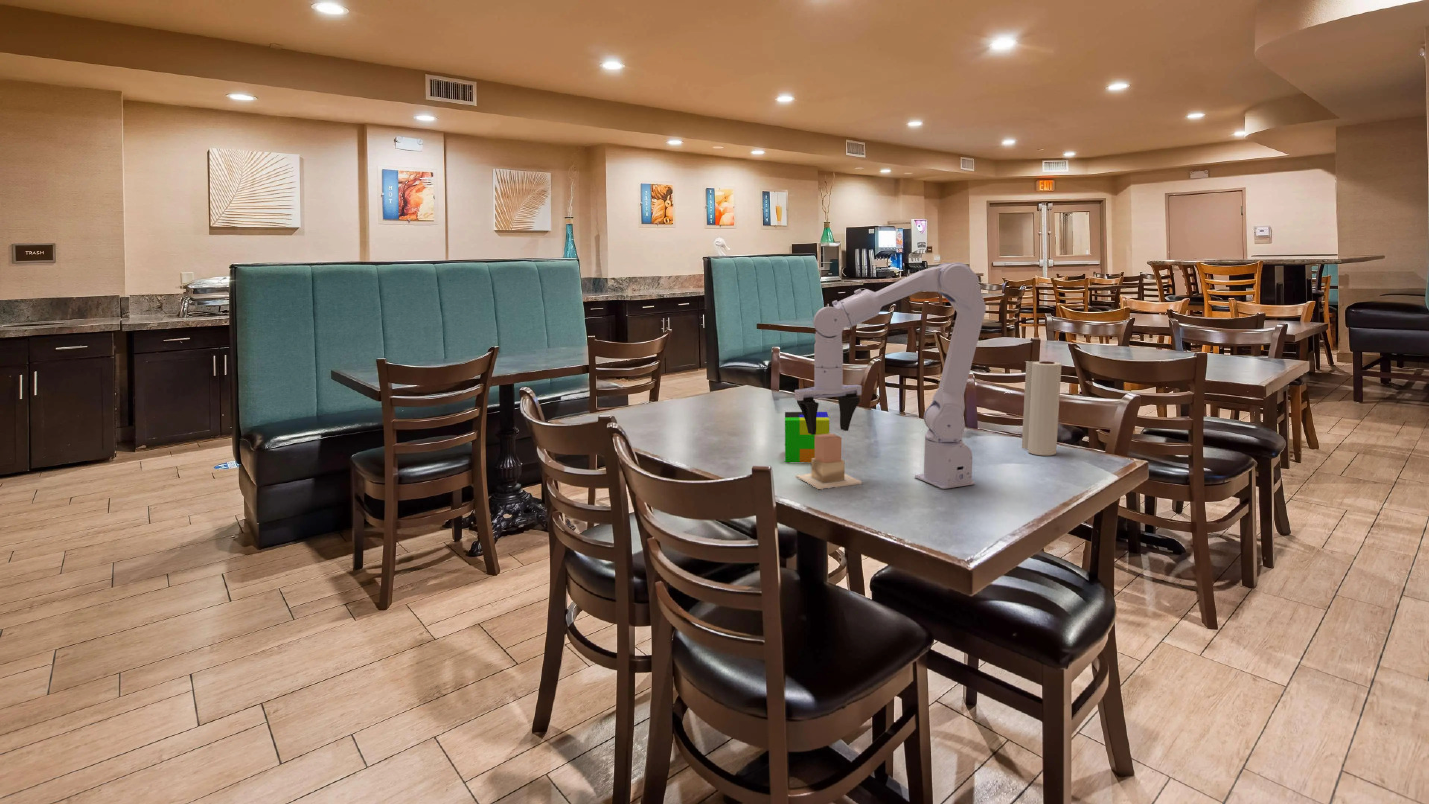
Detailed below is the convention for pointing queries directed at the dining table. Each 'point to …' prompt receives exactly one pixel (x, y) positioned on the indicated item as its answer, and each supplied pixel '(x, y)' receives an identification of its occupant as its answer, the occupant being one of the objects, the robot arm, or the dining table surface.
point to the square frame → (819, 485)
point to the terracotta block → (828, 448)
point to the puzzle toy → (802, 436)
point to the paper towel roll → (1041, 407)
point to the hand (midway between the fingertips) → (828, 431)
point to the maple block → (827, 470)
